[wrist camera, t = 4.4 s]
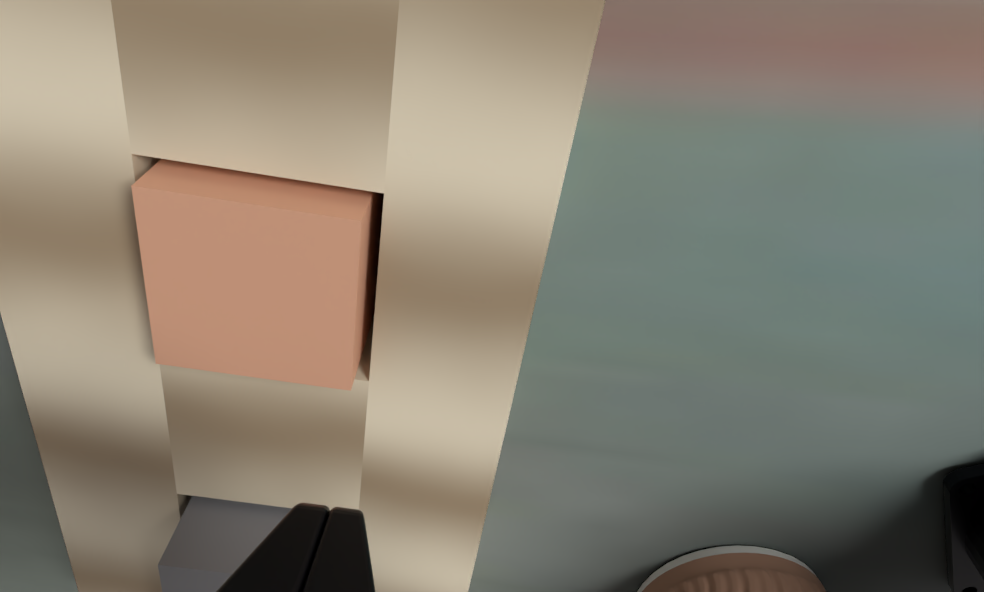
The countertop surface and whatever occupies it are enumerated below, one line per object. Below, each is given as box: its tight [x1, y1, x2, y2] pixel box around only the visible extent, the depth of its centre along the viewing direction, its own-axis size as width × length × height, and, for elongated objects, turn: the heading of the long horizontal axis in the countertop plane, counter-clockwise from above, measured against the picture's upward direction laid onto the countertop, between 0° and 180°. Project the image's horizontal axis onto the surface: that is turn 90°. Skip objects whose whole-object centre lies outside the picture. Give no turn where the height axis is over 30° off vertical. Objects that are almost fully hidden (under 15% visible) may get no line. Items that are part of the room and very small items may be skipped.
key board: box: [0, 0, 605, 592], centre depth 16 cm, size 30×12×3 cm, turn 171°
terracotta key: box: [131, 159, 384, 391], centre depth 16 cm, size 4×4×4 cm
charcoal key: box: [158, 496, 292, 592], centre depth 20 cm, size 4×4×4 cm
